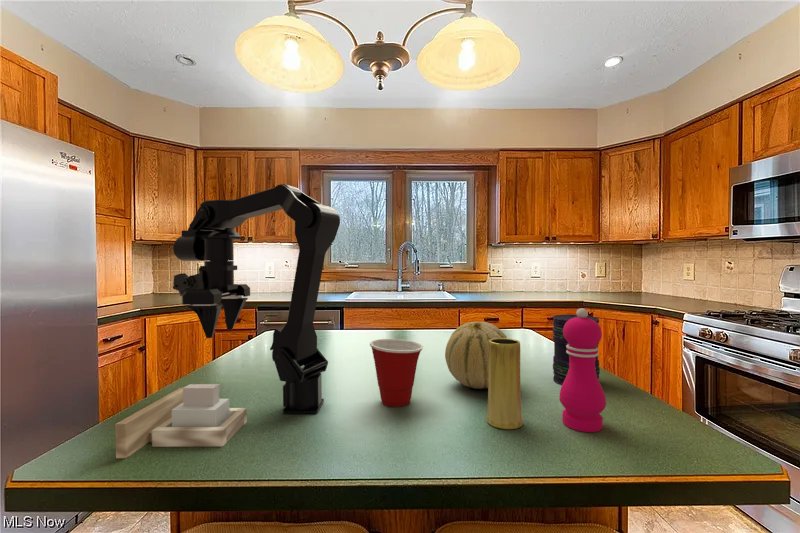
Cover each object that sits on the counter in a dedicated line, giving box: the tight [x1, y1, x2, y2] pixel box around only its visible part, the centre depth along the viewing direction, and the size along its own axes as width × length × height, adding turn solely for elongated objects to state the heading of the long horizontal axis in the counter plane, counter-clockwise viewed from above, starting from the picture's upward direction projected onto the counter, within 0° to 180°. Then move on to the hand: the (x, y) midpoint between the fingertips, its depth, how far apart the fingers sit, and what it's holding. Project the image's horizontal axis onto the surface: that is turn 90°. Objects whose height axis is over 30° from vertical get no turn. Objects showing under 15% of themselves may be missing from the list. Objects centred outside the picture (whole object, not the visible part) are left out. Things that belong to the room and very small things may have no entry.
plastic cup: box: [369, 338, 424, 408], centre depth 77 cm, size 11×11×12 cm
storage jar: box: [552, 314, 601, 386], centre depth 89 cm, size 10×10×15 cm
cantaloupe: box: [444, 321, 508, 390], centre depth 86 cm, size 15×15×15 cm
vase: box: [486, 337, 524, 430], centre depth 67 cm, size 6×6×14 cm
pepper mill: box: [558, 307, 607, 433], centre depth 66 cm, size 7×7×20 cm
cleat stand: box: [114, 387, 248, 459], centre depth 64 cm, size 14×16×5 cm
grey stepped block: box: [172, 383, 231, 427], centre depth 64 cm, size 7×5×8 cm
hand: (220, 333), depth 83 cm, fingers open, 9 cm apart
